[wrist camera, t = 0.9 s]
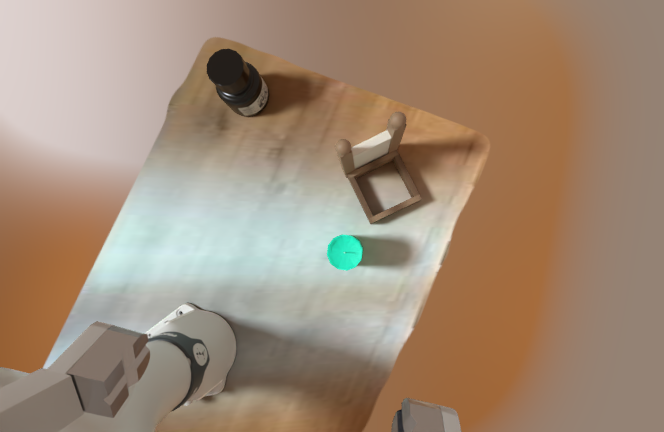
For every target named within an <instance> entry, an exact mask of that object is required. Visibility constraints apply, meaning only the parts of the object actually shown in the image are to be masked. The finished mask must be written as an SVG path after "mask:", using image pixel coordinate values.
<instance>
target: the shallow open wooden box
mask: <svg viewBox="0 0 664 432" xmlns="http://www.w3.org/2000/svg"><path fill="white" fill-rule="evenodd" d="M391 161H393V162H394V164H395V166H396V168H397V170H398V172H399V174H400V176H401V178H402V180H403V182H404V184H405V186H406V187H407V189H408V191H409V193H410V195H411V197H412V198H410V199H408V200H406V201H404V202H402V203H400V204H398V205H396V206H394V207H392V208H390V209H387V210H385V211H383V212H381V213H379V214H377V215H375V216H373V215H372V213H371V211H370V209H369V207H368V205H367V203H366V200H365V198H364V196H363V194H362V192H361V190H360V188H359V186H358V184H357V182H356V180H355V179H356V178H358V177H360V176H362V175H364V174H366V173H368V172H370V171H372V170H374V169H376V168H379V167H381V166H383V165H385V164H387V163H389V162H391ZM347 177H348V179H349V181H350V183H351V185H352V187H353V189H354V191H355V193H356V195H357V197H358V199H359V202H360V204H361V206H362V208H363V210H364V212H365V214H366V216H367V218H368V220H369V222H370V224H372V223H374V222H376V221H378V220H380V219H382V218H384V217H387V216H389V215H391V214H393V213H395V212H397V211H399V210H401V209H403V208H405V207H408V206H410V205H412V204H414V203H416V202H418V201H420V200H421V199H422V198H421V196H420V195H419V193H418V191H417V189H416V187H415V185H414V183H413V181H412V179H411V177H410V175H409V173H408V171H407V169H406V167H405V165H404V163H403V161H402V159H401V157H400V155H399V153H398V152H397V150H395V151H393V152H391V153H389V154H387V155H385V156H383V157H381V158H379V159H377V160H375V161H373V162H370V163H368V164H366V165H364V166H362V167H360V168H358V169H356V170H354V171H352V172H350V173H348V174H347Z"/></svg>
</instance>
